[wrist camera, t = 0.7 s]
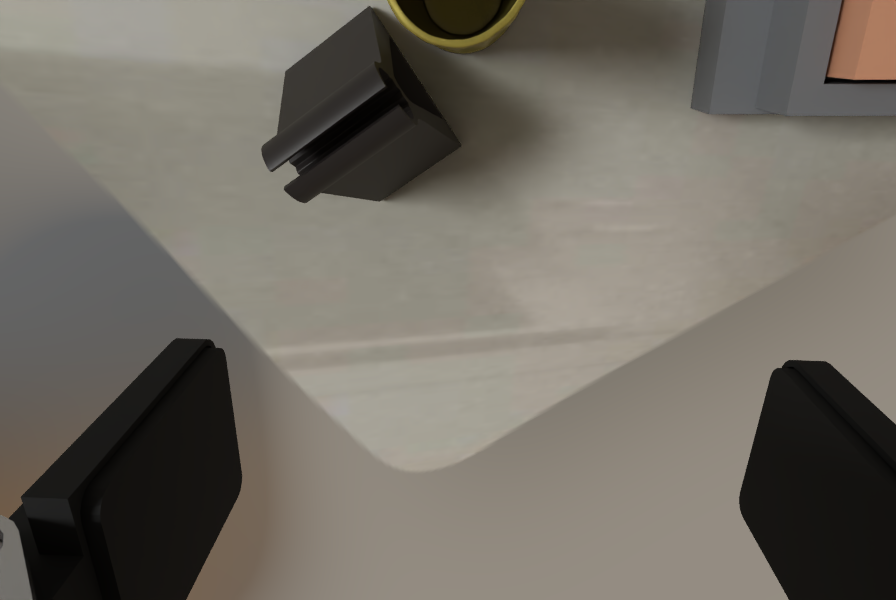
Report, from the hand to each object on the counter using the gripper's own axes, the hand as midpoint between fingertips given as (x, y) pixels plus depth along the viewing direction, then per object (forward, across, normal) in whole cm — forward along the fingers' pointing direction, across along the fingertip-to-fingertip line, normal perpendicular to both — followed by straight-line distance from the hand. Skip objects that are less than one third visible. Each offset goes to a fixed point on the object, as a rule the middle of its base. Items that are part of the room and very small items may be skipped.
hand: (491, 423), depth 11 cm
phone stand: (+28, +6, -2) cm, 29 cm away
